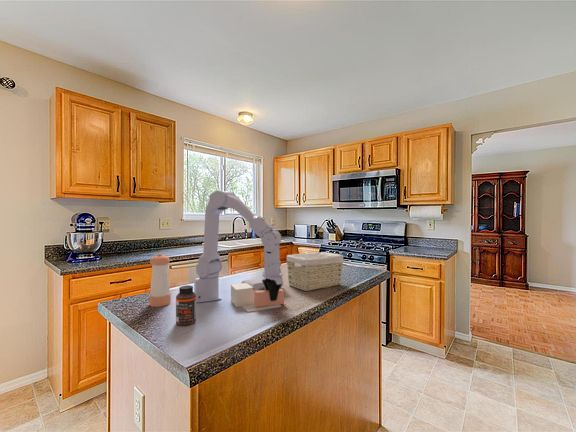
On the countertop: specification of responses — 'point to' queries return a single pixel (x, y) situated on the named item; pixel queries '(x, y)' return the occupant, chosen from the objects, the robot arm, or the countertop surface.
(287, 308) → the countertop surface
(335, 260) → the storage basket
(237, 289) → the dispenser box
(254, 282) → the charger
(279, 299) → the pink rectangular block
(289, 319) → the countertop surface
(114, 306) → the countertop surface
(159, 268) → the salt shaker
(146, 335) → the countertop surface
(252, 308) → the mat
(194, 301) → the supplement bottle
